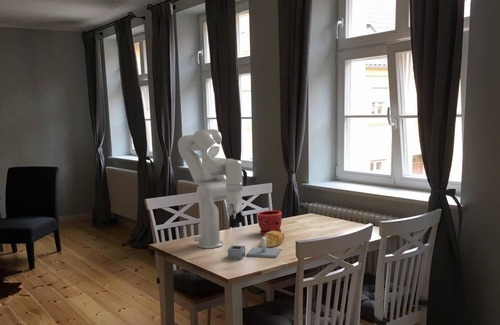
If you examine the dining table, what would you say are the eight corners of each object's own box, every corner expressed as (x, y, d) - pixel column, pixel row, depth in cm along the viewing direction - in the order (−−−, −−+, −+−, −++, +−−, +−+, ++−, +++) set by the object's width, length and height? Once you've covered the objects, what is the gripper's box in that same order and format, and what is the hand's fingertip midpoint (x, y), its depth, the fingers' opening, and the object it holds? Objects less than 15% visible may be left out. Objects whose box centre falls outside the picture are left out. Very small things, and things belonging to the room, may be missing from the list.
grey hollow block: (228, 258, 206) (227, 249, 205) (232, 254, 212) (231, 245, 212) (241, 259, 204) (241, 249, 204) (245, 255, 210) (245, 245, 210)
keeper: (246, 256, 209) (245, 240, 208) (252, 249, 220) (252, 234, 219) (276, 257, 205) (275, 241, 205) (281, 250, 216) (280, 235, 215)
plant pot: (282, 230, 254) (281, 209, 253) (281, 237, 241) (281, 214, 240) (259, 231, 255) (258, 210, 254) (257, 237, 242) (256, 215, 241)
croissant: (266, 257, 218) (272, 243, 215) (250, 245, 223) (256, 232, 220) (287, 245, 236) (293, 232, 233) (272, 234, 240) (278, 222, 237)
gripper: (232, 184, 214) (233, 220, 216) (220, 190, 198) (222, 229, 199) (247, 184, 212) (249, 220, 214) (236, 190, 196) (238, 229, 197)
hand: (236, 224), depth 206 cm, fingers open, 9 cm apart
